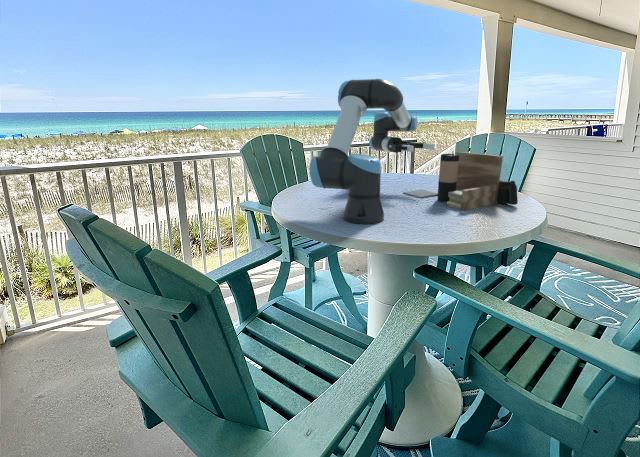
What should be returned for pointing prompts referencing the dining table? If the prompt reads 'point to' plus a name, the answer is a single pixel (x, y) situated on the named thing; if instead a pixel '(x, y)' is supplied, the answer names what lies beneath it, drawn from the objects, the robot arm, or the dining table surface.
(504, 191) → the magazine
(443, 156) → the travel mug
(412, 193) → the grey mat
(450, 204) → the offcut stack
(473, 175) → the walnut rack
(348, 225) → the dining table surface
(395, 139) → the robot arm
